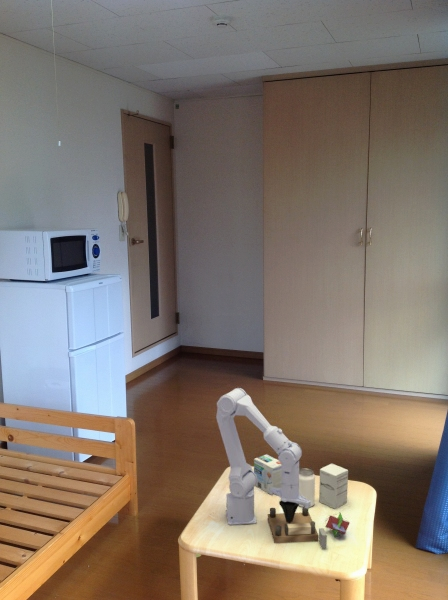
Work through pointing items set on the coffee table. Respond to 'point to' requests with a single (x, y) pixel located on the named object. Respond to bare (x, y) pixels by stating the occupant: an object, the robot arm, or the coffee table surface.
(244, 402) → the robot arm
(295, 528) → the hinged leg
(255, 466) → the light bulb box
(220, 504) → the coffee table surface
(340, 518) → the geometric puzzle
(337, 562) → the coffee table surface
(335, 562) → the coffee table surface
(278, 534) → the stool seat
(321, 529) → the block
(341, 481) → the supplement box
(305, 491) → the can
